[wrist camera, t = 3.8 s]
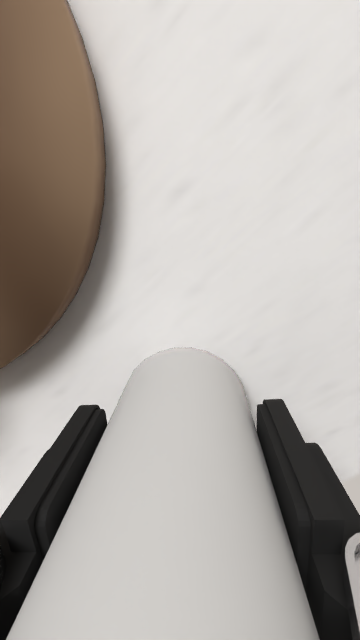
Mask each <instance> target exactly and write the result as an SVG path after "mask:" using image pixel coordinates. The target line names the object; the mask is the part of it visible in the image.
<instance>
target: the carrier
mask: <svg viewBox="0 0 360 640" xmlns="http://www.w3.org/2000/svg"><path fill="white" fill-rule="evenodd" d="M105 169H106V162H105V148H104V134H103V122H102V117H101V111H100V106H99V101H98V95H97V90H96V84H95V80H94V76H93V73H92V69H91V66H90V63H89V59H88V56H87V53H86V49H85V46H84V43H83V39H82V36H81V33H80V31H79V29H78V26H77V24H76V21H75V19H74V17H73V14H72V12H71V9H70V7H69V5H68V2H67V0H0V369H1V368H3V367H4V366H6V365H7V364H9V363H10V362H12V361H13V360H15V359H16V358H18V357H19V356H20V355H22V354H23V353H25V352H26V351H27V350H28V349H29V348H31V347H32V346H33V345H34V344H36V343H37V342H38V341H39V340H40V339H42V338H43V337H44V336H45V335H46V334H47V332H48V331H49V330H50V329H51V328H52V327H53V326H54V325H55V324H56V322H57V321H58V320H59V319H60V318H61V317H62V315H63V314H64V312H65V310H66V309H67V307H68V306H69V304H70V303H71V301H72V300H73V298H74V297H75V295H76V293H77V291H78V289H79V287H80V285H81V283H82V281H83V278H84V276H85V274H86V272H87V270H88V268H89V265H90V261H91V258H92V255H93V252H94V248H95V245H96V242H97V239H98V235H99V229H100V223H101V217H102V211H103V205H104V191H105Z"/></svg>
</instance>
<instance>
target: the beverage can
mask: <svg viewBox="0 0 360 640" xmlns="http://www.w3.org/2000/svg"><path fill="white" fill-rule="evenodd" d="M6 640H320V639H319V636H318V633H317V629H316V626H315V623H314V619H313V616H312V613H311V610H310V606H309V603H308V600H307V596H306V593H305V590H304V586H303V583H302V580H301V577H300V573H299V570H298V567H297V563H296V560H295V557H294V553H293V550H292V547H291V543H290V540H289V537H288V534H287V530H286V527H285V524H284V520H283V517H282V514H281V510H280V507H279V504H278V501H277V497H276V494H275V491H274V487H273V484H272V481H271V477H270V474H269V471H268V468H267V464H266V461H265V458H264V454H263V451H262V448H261V444H260V441H259V438H258V434H257V431H256V428H255V425H254V421H253V418H252V415H251V411H250V408H249V405H248V401H247V398H246V395H245V392H244V388H243V385H242V383H241V381H240V379H239V378H238V376H237V374H236V373H235V371H234V370H233V369H232V368H231V367H230V366H229V365H228V364H227V363H226V362H224V361H223V360H222V359H221V358H219V357H217V356H215V355H213V354H211V353H209V352H208V351H203V350H199V349H195V348H171V349H167V350H163V351H159V352H157V353H156V354H154V355H152V356H150V357H148V358H146V359H145V360H144V361H143V362H142V363H141V364H140V365H139V366H138V367H137V368H136V369H135V370H134V371H133V373H132V375H131V377H130V379H129V381H128V382H127V385H126V387H125V389H124V391H123V393H122V395H121V397H120V399H119V402H118V404H117V406H116V408H115V410H114V412H113V414H112V416H111V419H110V421H109V423H108V425H107V427H106V429H105V431H104V433H103V436H102V438H101V440H100V442H99V444H98V446H97V448H96V451H95V453H94V455H93V457H92V459H91V461H90V463H89V465H88V467H87V470H86V472H85V474H84V476H83V478H82V480H81V482H80V484H79V487H78V489H77V491H76V493H75V495H74V497H73V499H72V501H71V504H70V506H69V508H68V510H67V512H66V514H65V516H64V518H63V520H62V523H61V525H60V527H59V529H58V531H57V533H56V535H55V537H54V539H53V541H52V544H51V546H50V548H49V550H48V552H47V554H46V556H45V558H44V560H43V563H42V565H41V567H40V569H39V571H38V573H37V575H36V577H35V579H34V581H33V584H32V586H31V588H30V590H29V592H28V594H27V596H26V598H25V600H24V603H23V605H22V607H21V609H20V611H19V613H18V615H17V617H16V619H15V622H14V624H13V626H12V628H11V630H10V632H9V634H8V636H7V638H6Z"/></svg>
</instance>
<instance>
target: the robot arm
mask: <svg viewBox="0 0 360 640" xmlns="http://www.w3.org/2000/svg"><path fill="white" fill-rule="evenodd" d="M106 427H107V420H106V414H105V411H104V409H100V407H99V406H98V405H81V406H79V407H78V409H77V410H76V411H75V413H74V414H73V416H72V417H71V419H70V420H69V422H68V423H67V425H66V426H65V428H64V429H63V430H62V432H61V433H60V435H59V436H58V438H57V439H56V441H55V442H54V444H53V445H52V447H51V448H50V449H49V450H48V451H47V452H46V453H45V454H44V456H43V457H42V458H41V460H40V461H39V463H38V464H37V466H36V467H35V469H34V470H33V471H32V473H31V474H30V476H29V477H28V479H27V480H26V482H25V483H24V484H23V486H22V487H21V489H20V490H19V492H18V493H17V495H16V496H15V497H14V499H13V500H12V502H11V503H10V505H9V506H8V508H7V509H6V510H5V512H4V513H3V515H2V516H1V518H0V640H6V638H7V636H8V634H9V632H10V630H11V628H12V626H13V624H14V622H15V619H16V617H17V615H18V613H19V611H20V609H21V607H22V605H23V603H24V600H25V598H26V596H27V594H28V592H29V590H30V588H31V586H32V584H33V581H34V579H35V577H36V575H37V573H38V571H39V569H40V567H41V565H42V563H43V560H44V558H45V556H46V554H47V552H48V550H49V548H50V546H51V544H52V541H53V539H54V537H55V535H56V533H57V531H58V529H59V527H60V525H61V523H62V520H63V518H64V516H65V514H66V512H67V510H68V508H69V506H70V504H71V501H72V499H73V497H74V495H75V493H76V491H77V489H78V487H79V484H80V482H81V480H82V478H83V476H84V474H85V472H86V470H87V467H88V465H89V463H90V461H91V459H92V457H93V455H94V453H95V451H96V448H97V446H98V444H99V442H100V440H101V438H102V436H103V433H104V431H105V429H106ZM257 434H258V438H259V441H260V444H261V448H262V451H263V454H264V458H265V461H266V464H267V468H268V471H269V474H270V477H271V481H272V484H273V487H274V491H275V494H276V497H277V501H278V504H279V507H280V510H281V514H282V517H283V520H284V524H285V527H286V530H287V534H288V537H289V540H290V543H291V547H292V550H293V553H294V557H295V560H296V563H297V567H298V570H299V573H300V577H301V580H302V583H303V586H304V590H305V593H306V596H307V600H308V603H309V606H310V610H311V613H312V616H313V619H314V623H315V626H316V629H317V633H318V636H319V639H320V640H360V515H359V513H358V512H357V510H356V508H355V507H354V505H353V503H352V501H351V500H350V498H349V496H348V495H347V493H346V491H345V489H344V487H343V486H342V484H341V482H340V481H339V479H338V477H337V475H336V474H335V472H334V470H333V468H332V467H331V465H330V463H329V462H328V460H327V458H326V456H325V455H324V453H323V451H322V449H321V448H320V447H319V445H318V444H316V443H305V442H304V440H303V438H302V436H301V434H300V432H299V430H298V428H297V426H296V424H295V422H294V420H293V419H292V417H291V415H290V413H289V411H288V409H287V407H286V405H285V403H284V401H283V400H282V399H269V400H263V404H259V405H257Z"/></svg>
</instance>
